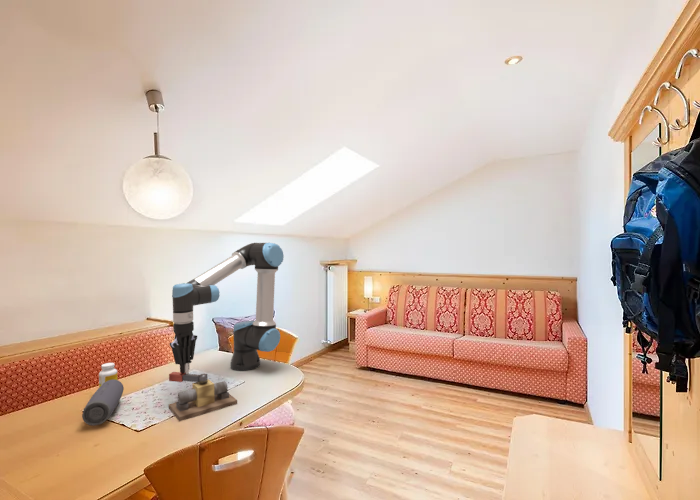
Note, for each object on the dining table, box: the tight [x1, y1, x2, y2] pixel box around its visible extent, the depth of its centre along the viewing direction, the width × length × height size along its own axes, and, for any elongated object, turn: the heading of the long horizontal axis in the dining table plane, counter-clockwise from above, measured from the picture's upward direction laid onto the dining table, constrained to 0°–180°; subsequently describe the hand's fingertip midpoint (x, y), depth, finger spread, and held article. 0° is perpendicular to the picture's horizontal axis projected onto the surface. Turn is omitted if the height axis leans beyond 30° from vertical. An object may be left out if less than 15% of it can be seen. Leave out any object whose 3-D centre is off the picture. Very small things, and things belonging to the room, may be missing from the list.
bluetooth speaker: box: [81, 379, 125, 426], centre depth 140 cm, size 23×9×10 cm, turn 21°
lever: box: [168, 371, 208, 384], centre depth 148 cm, size 16×3×3 cm, turn 81°
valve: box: [168, 378, 238, 422], centre depth 147 cm, size 22×14×9 cm, turn 131°
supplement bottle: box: [98, 362, 119, 388], centre depth 158 cm, size 7×7×13 cm
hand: (185, 379), depth 150 cm, fingers closed
